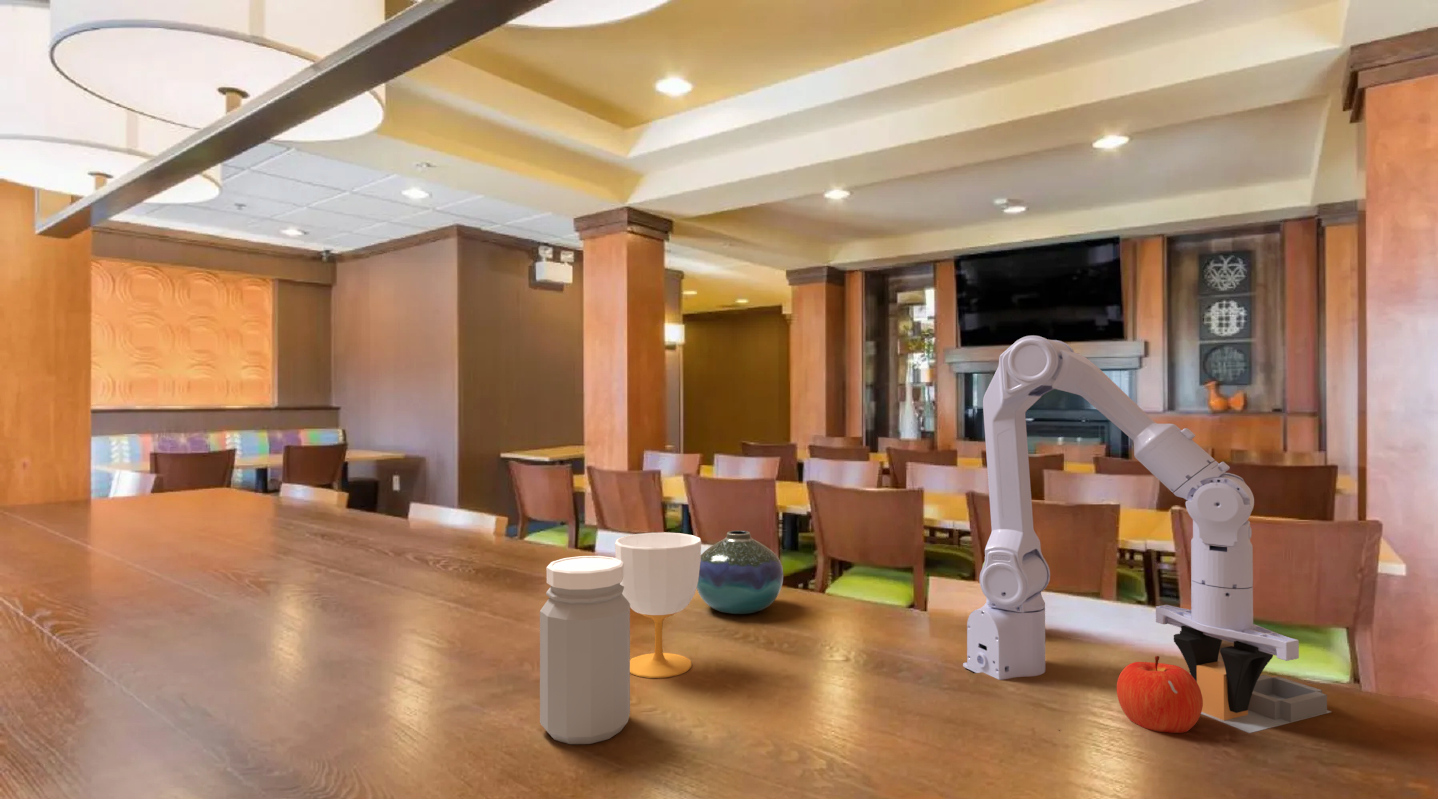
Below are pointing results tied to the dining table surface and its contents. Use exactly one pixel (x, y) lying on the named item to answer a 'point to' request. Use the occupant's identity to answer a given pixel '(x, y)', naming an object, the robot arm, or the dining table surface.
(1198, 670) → the block
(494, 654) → the dining table surface
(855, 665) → the dining table surface
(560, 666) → the jar
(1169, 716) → the apple
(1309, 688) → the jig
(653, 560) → the cup
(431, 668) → the dining table surface
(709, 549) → the vase
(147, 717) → the dining table surface
